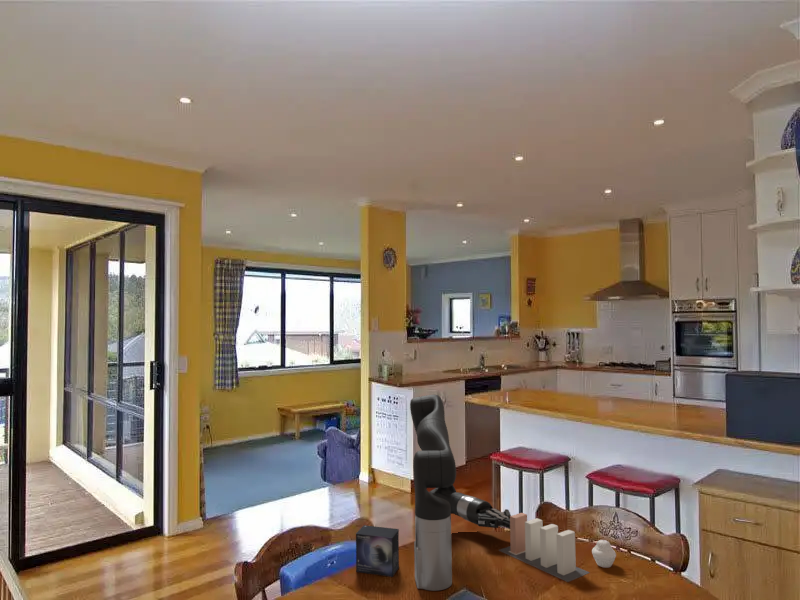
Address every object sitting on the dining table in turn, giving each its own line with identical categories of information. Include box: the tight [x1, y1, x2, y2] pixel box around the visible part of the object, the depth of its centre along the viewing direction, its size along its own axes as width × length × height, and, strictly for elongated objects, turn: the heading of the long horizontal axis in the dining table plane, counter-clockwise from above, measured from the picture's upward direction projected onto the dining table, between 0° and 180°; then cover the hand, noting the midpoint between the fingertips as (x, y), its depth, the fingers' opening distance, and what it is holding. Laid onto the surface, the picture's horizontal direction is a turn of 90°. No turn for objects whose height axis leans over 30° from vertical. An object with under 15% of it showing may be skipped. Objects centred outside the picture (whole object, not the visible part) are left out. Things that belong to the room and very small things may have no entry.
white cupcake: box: [591, 539, 617, 568], centre depth 150 cm, size 6×6×7 cm
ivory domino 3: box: [556, 529, 577, 575], centre depth 146 cm, size 2×5×10 cm, turn 125°
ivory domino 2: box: [540, 523, 559, 568], centre depth 150 cm, size 2×5×10 cm, turn 125°
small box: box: [355, 524, 400, 578], centre depth 149 cm, size 11×6×10 cm, turn 73°
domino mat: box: [498, 545, 591, 583], centre depth 152 cm, size 24×9×1 cm, turn 35°
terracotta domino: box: [509, 512, 528, 554], centre depth 159 cm, size 2×5×10 cm, turn 126°
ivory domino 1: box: [525, 517, 544, 561], centre depth 155 cm, size 2×5×10 cm, turn 125°
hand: (515, 526), depth 161 cm, fingers closed
